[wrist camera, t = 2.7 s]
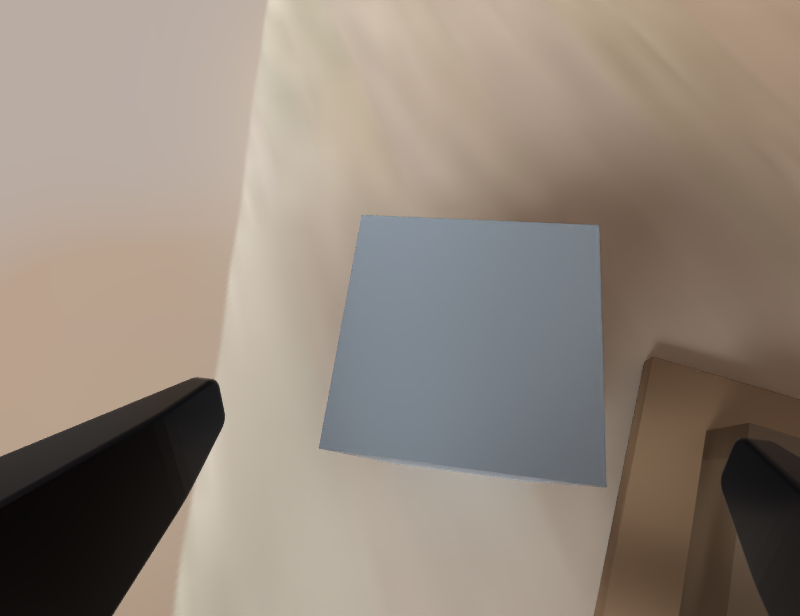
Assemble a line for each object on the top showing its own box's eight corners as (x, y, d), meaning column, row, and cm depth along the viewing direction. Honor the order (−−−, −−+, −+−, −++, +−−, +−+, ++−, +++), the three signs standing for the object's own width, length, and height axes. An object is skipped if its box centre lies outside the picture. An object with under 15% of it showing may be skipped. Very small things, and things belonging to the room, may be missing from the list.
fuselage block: (528, 481, 16) (606, 487, 7) (390, 462, 16) (319, 448, 8) (532, 345, 17) (598, 225, 9) (407, 334, 18) (361, 215, 10)
